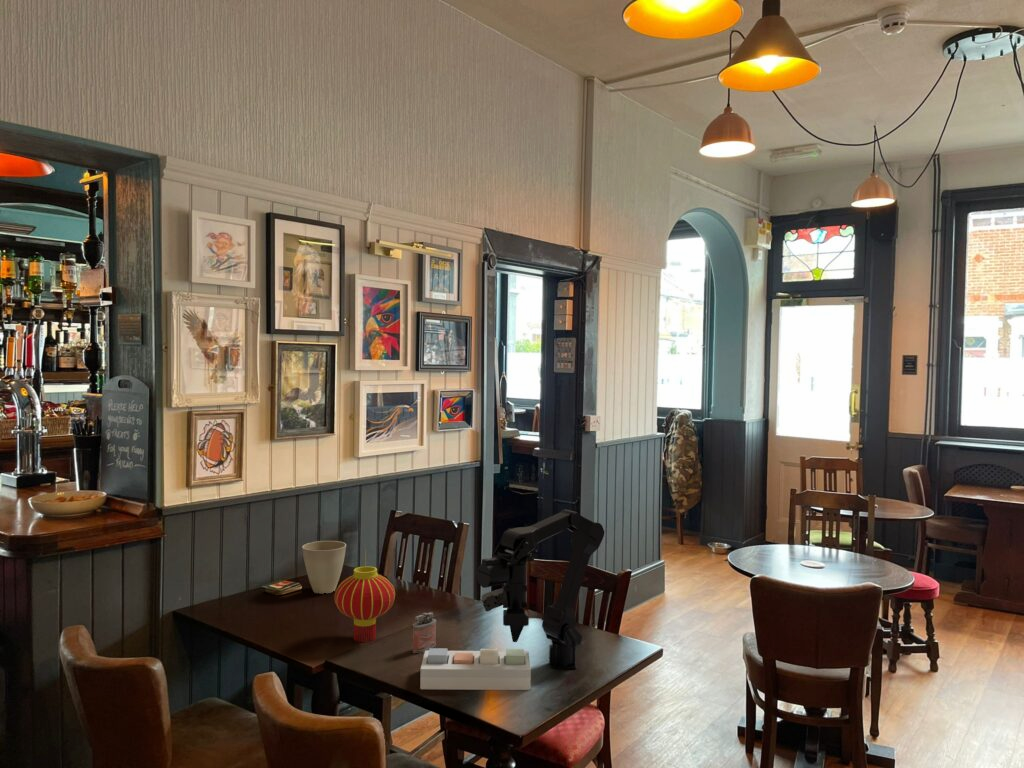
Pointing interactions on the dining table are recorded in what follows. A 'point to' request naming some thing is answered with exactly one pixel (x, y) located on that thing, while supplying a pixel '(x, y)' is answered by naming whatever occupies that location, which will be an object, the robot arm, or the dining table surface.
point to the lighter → (424, 633)
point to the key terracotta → (463, 658)
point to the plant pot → (324, 564)
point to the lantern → (364, 599)
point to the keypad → (475, 674)
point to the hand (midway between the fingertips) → (514, 641)
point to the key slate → (437, 656)
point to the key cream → (488, 656)
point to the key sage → (514, 656)
